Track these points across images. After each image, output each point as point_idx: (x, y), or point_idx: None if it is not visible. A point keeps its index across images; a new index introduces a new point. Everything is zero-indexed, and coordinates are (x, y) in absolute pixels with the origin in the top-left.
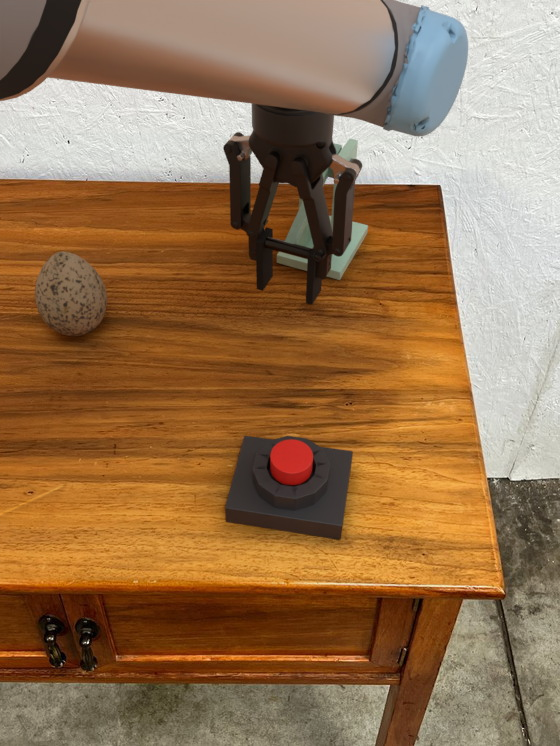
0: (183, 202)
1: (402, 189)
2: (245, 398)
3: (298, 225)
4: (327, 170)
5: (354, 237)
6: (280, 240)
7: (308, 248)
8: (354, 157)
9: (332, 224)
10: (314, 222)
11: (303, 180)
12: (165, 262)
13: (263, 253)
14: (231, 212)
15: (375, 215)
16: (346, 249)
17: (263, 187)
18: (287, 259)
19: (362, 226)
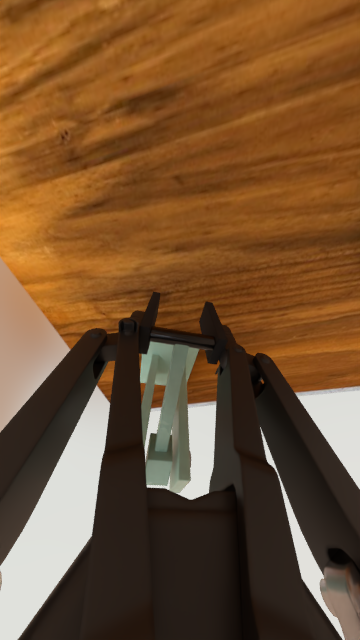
0: None
1: None
2: (200, 103)
3: (174, 371)
4: (155, 447)
5: (145, 371)
6: (194, 346)
7: (153, 339)
8: None
9: (153, 379)
10: (124, 378)
11: (105, 589)
12: (293, 326)
13: (213, 329)
14: (282, 377)
15: (141, 389)
16: (147, 360)
17: (260, 466)
18: None
19: (143, 381)
